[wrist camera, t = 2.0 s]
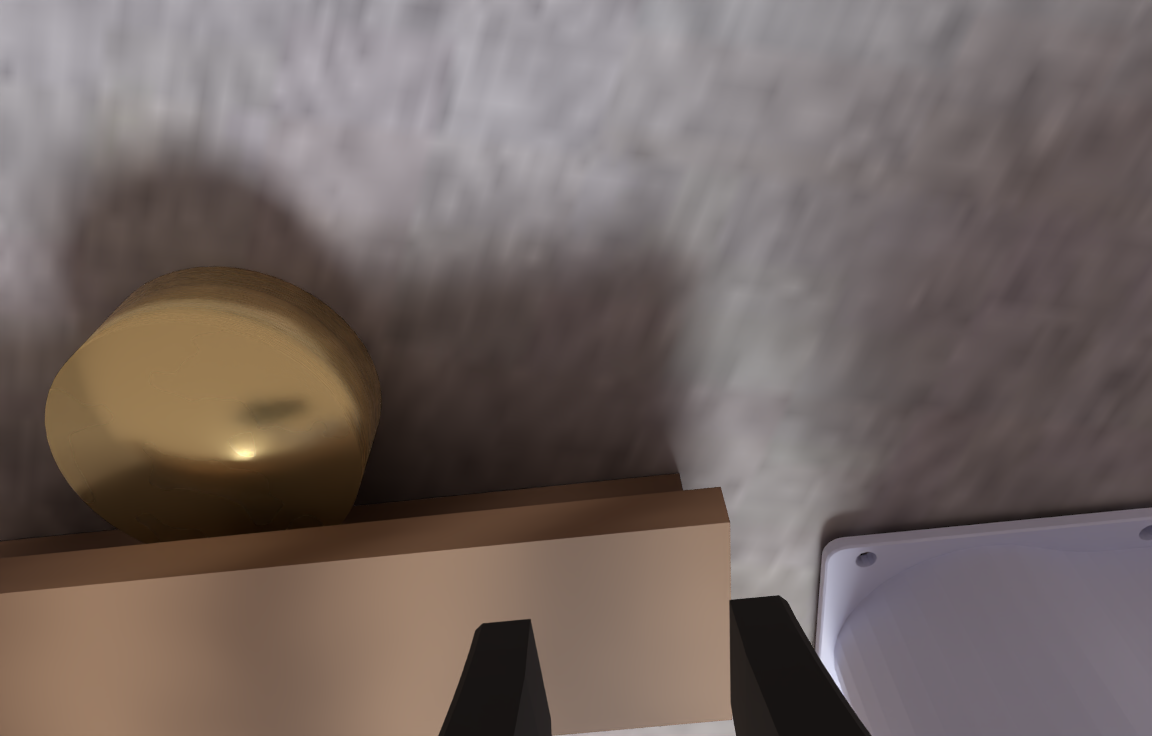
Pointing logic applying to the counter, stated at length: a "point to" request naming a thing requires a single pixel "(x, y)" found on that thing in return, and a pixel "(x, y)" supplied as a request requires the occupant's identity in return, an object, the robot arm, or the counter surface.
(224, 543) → the walnut shelf
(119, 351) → the brass puck
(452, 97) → the counter surface
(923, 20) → the counter surface
